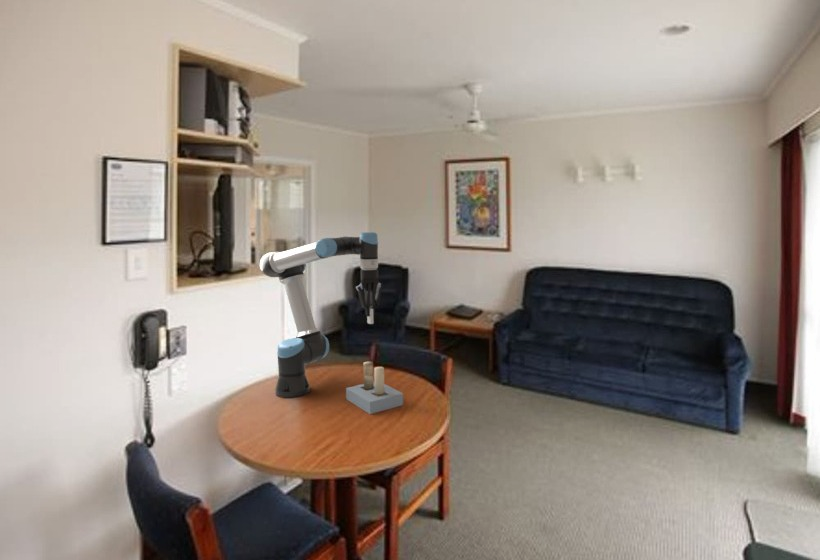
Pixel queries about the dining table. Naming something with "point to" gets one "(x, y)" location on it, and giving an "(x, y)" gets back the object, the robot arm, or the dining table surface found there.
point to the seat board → (375, 395)
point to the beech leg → (368, 375)
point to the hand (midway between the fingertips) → (370, 323)
